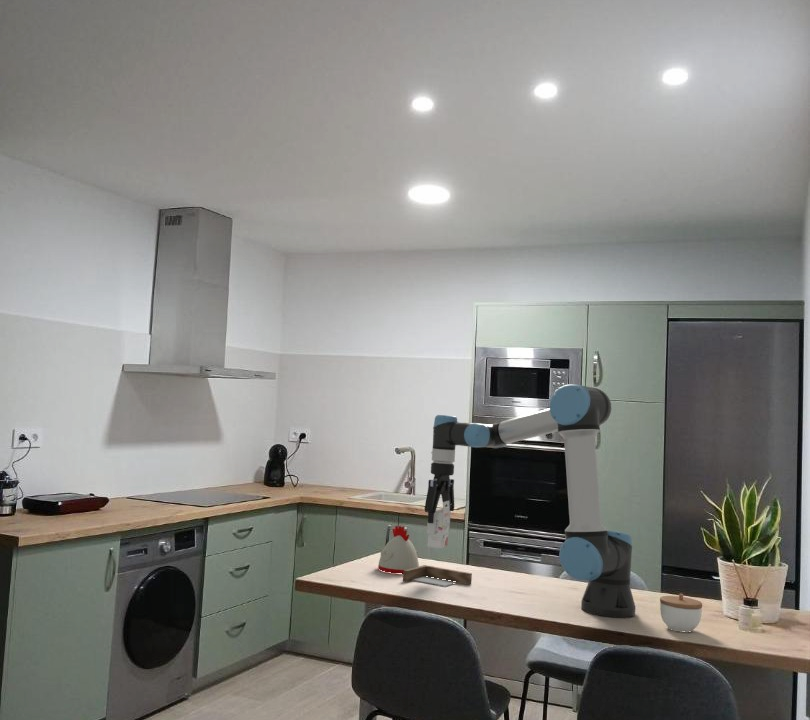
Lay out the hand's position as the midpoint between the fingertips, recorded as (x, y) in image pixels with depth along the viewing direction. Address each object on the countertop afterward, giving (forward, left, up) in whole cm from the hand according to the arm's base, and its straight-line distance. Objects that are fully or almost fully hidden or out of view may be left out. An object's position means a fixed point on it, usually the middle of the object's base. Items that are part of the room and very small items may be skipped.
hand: (438, 532), depth 246 cm
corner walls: (-1, +1, -16) cm, 16 cm away
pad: (0, 0, -16) cm, 16 cm away
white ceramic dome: (+18, -7, -16) cm, 25 cm away
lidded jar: (-76, +3, -16) cm, 78 cm away
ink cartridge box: (0, 0, -5) cm, 5 cm away
